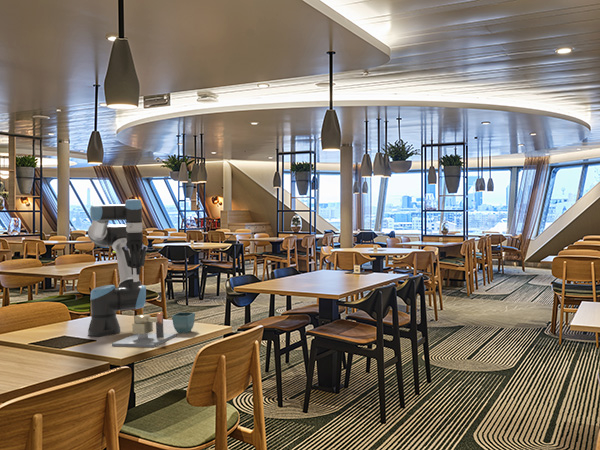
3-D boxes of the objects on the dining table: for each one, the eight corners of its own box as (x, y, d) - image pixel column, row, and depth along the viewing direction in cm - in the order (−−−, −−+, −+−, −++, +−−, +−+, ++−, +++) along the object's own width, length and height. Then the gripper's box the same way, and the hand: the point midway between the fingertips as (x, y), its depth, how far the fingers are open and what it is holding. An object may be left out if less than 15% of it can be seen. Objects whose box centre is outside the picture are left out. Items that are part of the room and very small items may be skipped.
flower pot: (189, 334, 268) (188, 315, 268) (171, 334, 269) (171, 315, 269) (196, 330, 276) (195, 312, 276) (179, 330, 278) (178, 312, 278)
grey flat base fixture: (112, 346, 247) (111, 321, 247) (137, 335, 269) (136, 312, 269) (153, 347, 243) (152, 322, 242) (176, 336, 264) (175, 313, 264)
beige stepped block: (131, 333, 254) (130, 313, 254) (141, 330, 261) (140, 311, 260) (157, 335, 249) (157, 314, 249) (167, 331, 255) (166, 312, 255)
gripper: (117, 232, 262) (119, 282, 263) (142, 232, 259) (144, 282, 260) (126, 232, 270) (128, 280, 270) (150, 231, 267) (152, 280, 267)
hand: (136, 281), depth 265 cm, fingers closed
